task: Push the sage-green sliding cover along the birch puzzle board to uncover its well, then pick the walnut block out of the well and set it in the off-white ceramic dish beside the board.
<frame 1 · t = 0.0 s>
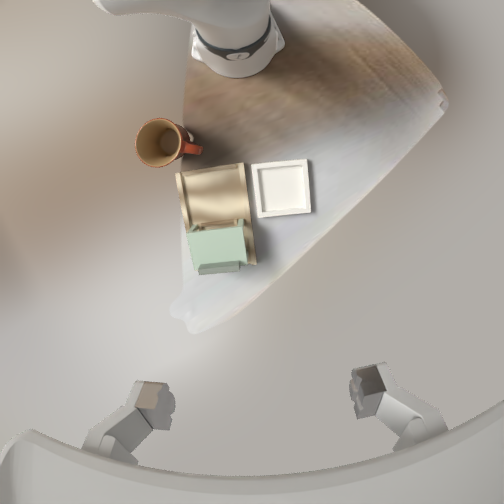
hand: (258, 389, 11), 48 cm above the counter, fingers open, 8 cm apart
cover: (218, 246, 55), point 5 cm above the counter, slide at 0.0 cm
board: (217, 218, 57), on the counter
mug: (181, 143, 51), on the counter
dish: (281, 187, 54), on the counter
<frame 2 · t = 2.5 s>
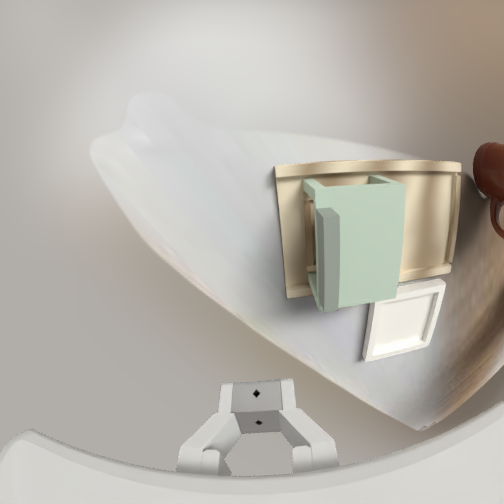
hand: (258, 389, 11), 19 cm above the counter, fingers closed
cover: (356, 243, 23), point 5 cm above the counter, slide at 0.0 cm
board: (379, 223, 27), on the counter
mug: (481, 178, 25), on the counter
dish: (401, 318, 32), on the counter
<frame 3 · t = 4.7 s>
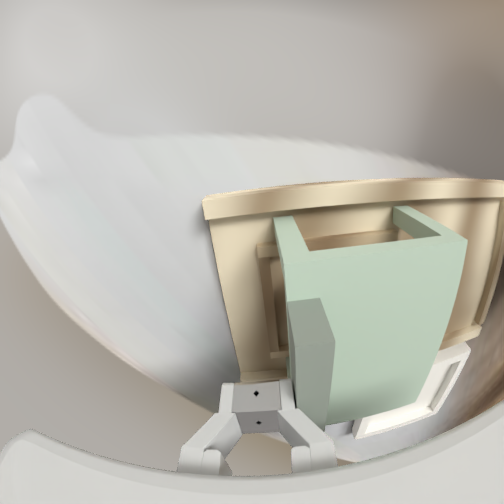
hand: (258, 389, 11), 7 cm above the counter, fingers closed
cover: (365, 337, 12), point 5 cm above the counter, slide at 1.0 cm, touching gripper
board: (389, 282, 17), on the counter
dish: (407, 390, 22), on the counter
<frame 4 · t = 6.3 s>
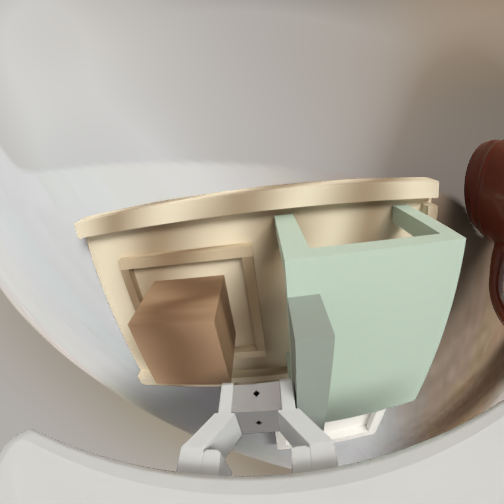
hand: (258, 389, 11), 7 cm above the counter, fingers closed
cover: (364, 334, 13), point 5 cm above the counter, slide at 9.5 cm, touching gripper
board: (265, 297, 17), on the counter
mug: (480, 204, 15), on the counter
dish: (329, 408, 22), on the counter
block: (195, 308, 17), point 1 cm above the counter, touching board
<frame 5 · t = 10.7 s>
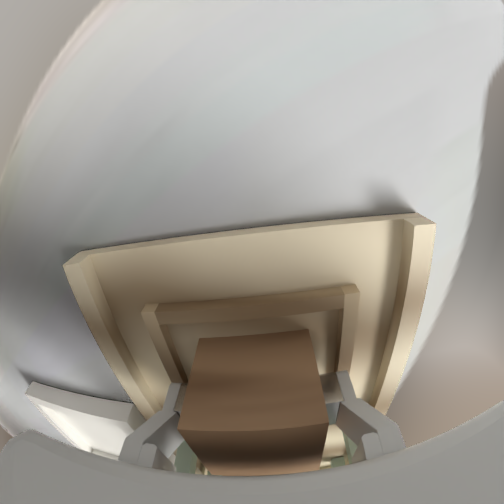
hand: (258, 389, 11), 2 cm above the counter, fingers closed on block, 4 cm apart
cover: (274, 500, 11), point 5 cm above the counter, slide at 9.6 cm
board: (267, 411, 14), on the counter
dish: (106, 431, 17), on the counter
block: (259, 370, 12), point 1 cm above the counter, touching board, gripper
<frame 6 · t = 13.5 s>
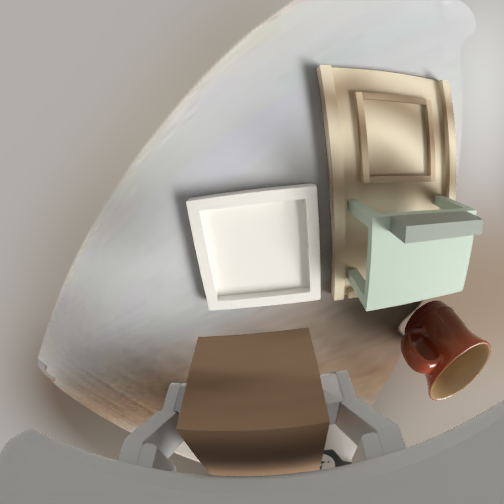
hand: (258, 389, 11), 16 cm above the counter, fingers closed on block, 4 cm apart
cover: (418, 252, 20), point 5 cm above the counter, slide at 9.6 cm
board: (396, 184, 23), on the counter
mug: (416, 318, 29), on the counter
dish: (258, 247, 26), on the counter
block: (258, 370, 11), point 15 cm above the counter, touching gripper
when the fingers open (3 cm above the counter, at t = 16.1 s): block drops 2 cm, resting on dish.
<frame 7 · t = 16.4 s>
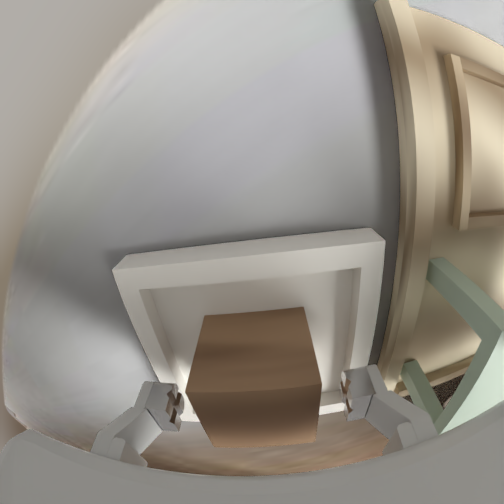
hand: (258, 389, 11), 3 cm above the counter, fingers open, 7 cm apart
board: (491, 225, 11), on the counter
dish: (258, 341, 13), on the counter
block: (258, 347, 13), point 1 cm above the counter, touching dish
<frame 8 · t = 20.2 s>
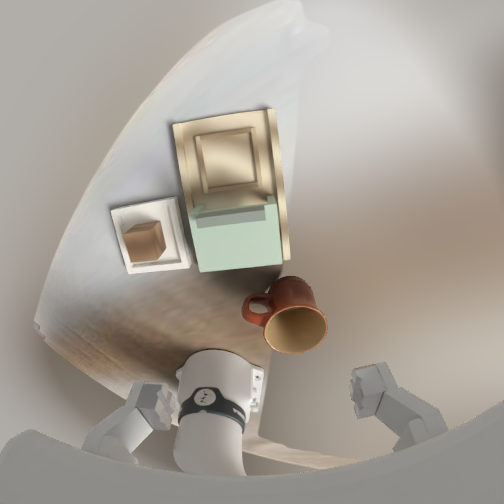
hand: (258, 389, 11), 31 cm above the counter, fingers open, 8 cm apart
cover: (236, 235, 36), point 5 cm above the counter, slide at 9.6 cm
board: (234, 190, 38), on the counter
mug: (279, 289, 45), on the counter
dish: (152, 235, 41), on the counter
block: (150, 236, 40), point 1 cm above the counter, touching dish
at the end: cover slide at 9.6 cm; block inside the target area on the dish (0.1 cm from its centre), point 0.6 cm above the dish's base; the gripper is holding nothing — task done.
